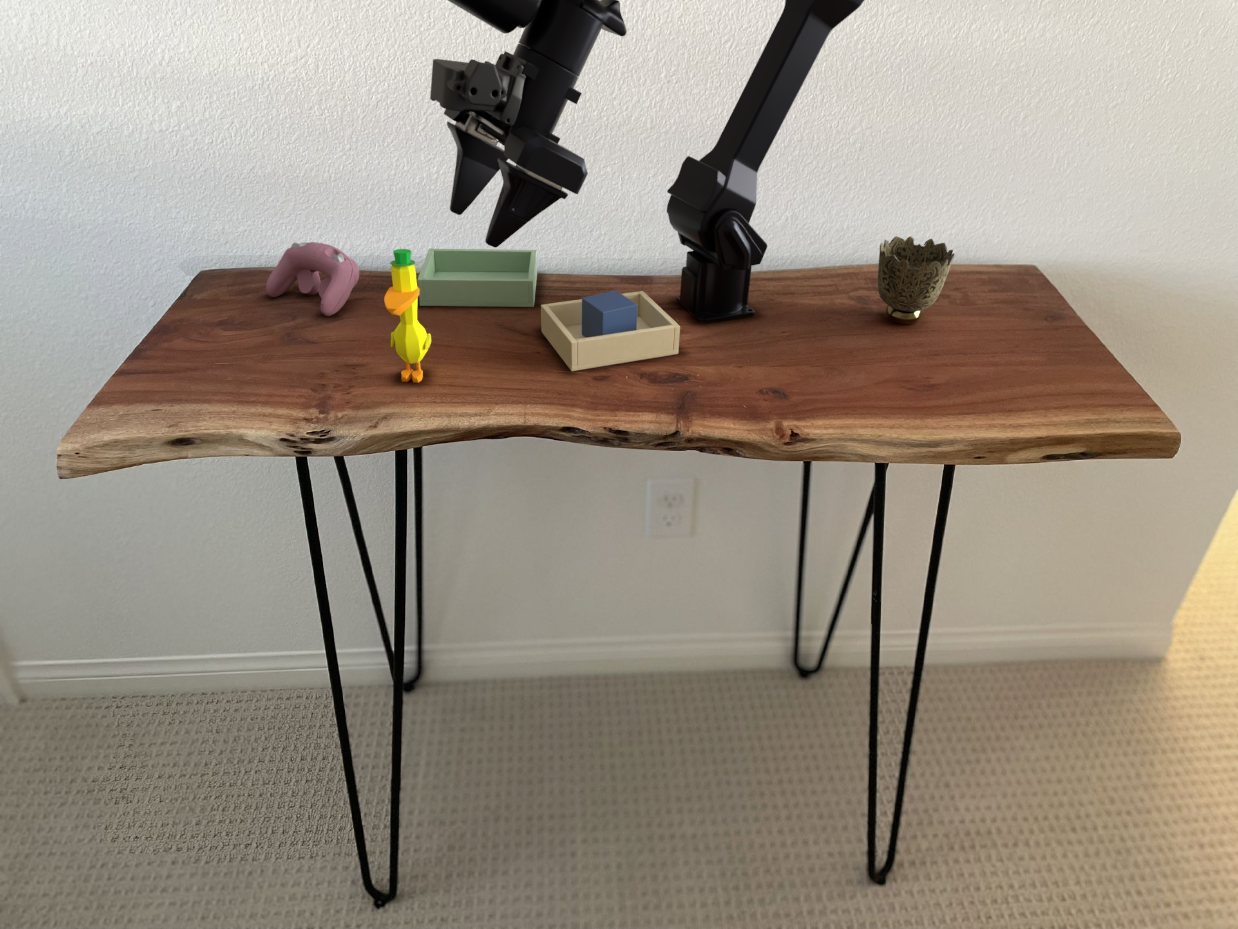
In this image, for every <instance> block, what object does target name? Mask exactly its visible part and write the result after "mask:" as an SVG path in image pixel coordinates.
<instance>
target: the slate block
mask: <svg viewBox="0 0 1238 929" xmlns="http://www.w3.org/2000/svg"><path fill="white" fill-rule="evenodd" d="M622 294H623V293H620V292H619V291H618V290H612V291H607V292H603V293H599V294H594V295H590V296H589V295H588V296H585V297H582V298H581V299H582V335H583V336H584V337H586V338H588V337H595V336H602V335H608V334H615V333H621V332H628V331H635V330H636V327H637V304H636V303H634V302H633V301H631V300H630V299H628V298H627V297H625V296H624V295H622Z"/></svg>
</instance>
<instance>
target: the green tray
mask: <svg viewBox="0 0 1238 929" xmlns="http://www.w3.org/2000/svg"><path fill="white" fill-rule="evenodd" d="M427 250H428V251H427V253H426V256H425V258H424V262H423V264H422V266H421V269H420V272H419V274H418V277H417V279H416V281H417V286H418V287H419V289H420V291H419V296H418V300H419V306H420V307H490V308H491V307H492V308H493V307H494V308H496V307H498V308H499V307H501V308H502V307H503V308H504V307H507V308H509V307H510V308H511V307H512V308H534V307H535V300H536V290H537V279H538V254H537V253H538V252H537V249H496V248H494V249H493V248H492V249H491V248H489V249H488V248H487V249H486V248H483V249H482V248H481V249H479V248H428V249H427Z"/></svg>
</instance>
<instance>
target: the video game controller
mask: <svg viewBox="0 0 1238 929" xmlns="http://www.w3.org/2000/svg"><path fill="white" fill-rule="evenodd" d="M319 273H321V274H323V275H326V276H325V278H323V279H322V280H321V277H320V275H319ZM359 278H360V269H359V266H358V264H357V262H356V261H355V260H354V259H352V258H351V257H349V256H348V255H347V254H346V253H345V252H344V251H342V250H341V249H339V248H338V247H335V246H333V245H330V244H327V243H322V242H316V241H310V242H298V243H297V242H292V244H291V247H289V248H287V249H286V250H285V251H284V252H283V255H282V256H281V258H280V260H279V262H278V263H277V265H275V267H274V269H273V270H272V271H271V273H270V274H269V276H268V278H267V280H266V284H265V290H266V294H267V295H268V296H269V297H271V298H278V297H279V296H281V295H283V294H284V293H285V292H286V291H288V290H289V289H290V288H291V287H292V285H293V284H294V283H295V282H296V281H297V285H298V289H299V291H300V292H301V293H303V294H307V295H312V296H313V295H316V294H317V293H318V295H319V297H320V299H321V301H320V312H321V313H322V314H323V315H324V316H325V317H331V316H333V315H335V314H336V313H337V312H339V311H340V310H341V309H342V308H343V307H344V305H345V304H346V302H347V301H348V299H349V298H350V295H351V292H352V291H353V288H354V287H355V286H356V285H357V284H358V281H359Z"/></svg>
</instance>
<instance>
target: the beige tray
mask: <svg viewBox="0 0 1238 929" xmlns="http://www.w3.org/2000/svg"><path fill="white" fill-rule="evenodd" d="M621 294H622V295H624V296H625V297H627V298H628V299H630V300H631V301H633V302H634V303H636V304H637V327H636V330H635V331H628V332H621V333H615V334H608V335H602V336H595V337H588V338H586V337H584V336H583V335H582V298H581V299H574V300H567V301H566V300H565V301H559V302H552V303H544V304H541V305H540V323H541V324H540V326H541V328H540V329H541V331H540V332H541V333H542V335H543V336H544V337H545V338H546V339H547V341H548V342H549V344H550V345H551V347H553V349H554V350H555V351H556V353H557V354H558V355H559V357H560V358H561V359H562V360H563V362H564V363H565V365H566V366H567V368H568V369H569V370H570V371H571V372H576V371H581V370H588V369H594V368H601V367H606V366H607V367H608V366H613V365H617V364H624V363H630V362H631V363H632V362H636V361H643V360H649V359H655V358H656V359H657V358H661V357H669V356H673V355H678V354H679V348H680V347H679V346H680V334H681V333H680V332H681V326H680V325H679V324H678V323H677V322H676V321H675V320H674V319H673V318H672V317H671V316H670V315H669V314H668V313H667V312H666V311H665V310H663V309H662V308H661V306H660V305H658V303H656V302H655V301H654V300H653V299H652V298H651V297H650V296H649V295H648V294H647V293H646V292H645V291H643V290H640V291H632V292H625V293H621Z"/></svg>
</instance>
